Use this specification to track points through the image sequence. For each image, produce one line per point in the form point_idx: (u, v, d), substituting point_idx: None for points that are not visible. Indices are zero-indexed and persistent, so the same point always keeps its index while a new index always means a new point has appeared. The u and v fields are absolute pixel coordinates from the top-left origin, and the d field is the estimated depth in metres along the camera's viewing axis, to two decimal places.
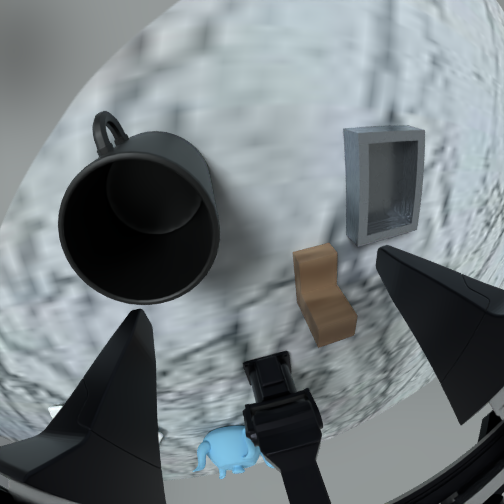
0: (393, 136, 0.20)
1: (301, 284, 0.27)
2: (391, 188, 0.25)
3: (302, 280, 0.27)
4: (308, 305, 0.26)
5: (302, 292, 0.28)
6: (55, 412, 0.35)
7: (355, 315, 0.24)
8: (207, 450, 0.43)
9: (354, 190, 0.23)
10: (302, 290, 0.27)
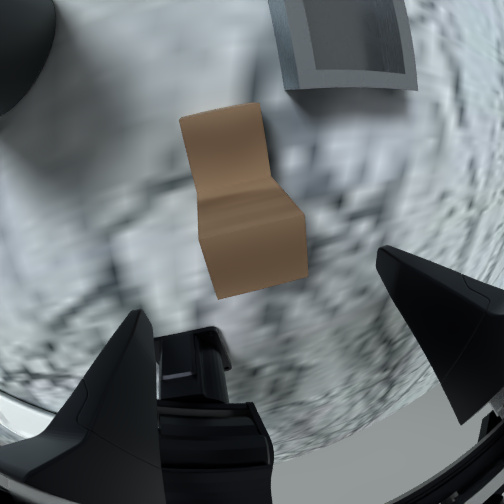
0: None
1: (192, 169, 0.13)
2: (356, 23, 0.11)
3: (192, 160, 0.13)
4: (200, 205, 0.12)
5: (198, 189, 0.14)
6: None
7: (299, 214, 0.10)
8: None
9: None
10: (196, 183, 0.14)
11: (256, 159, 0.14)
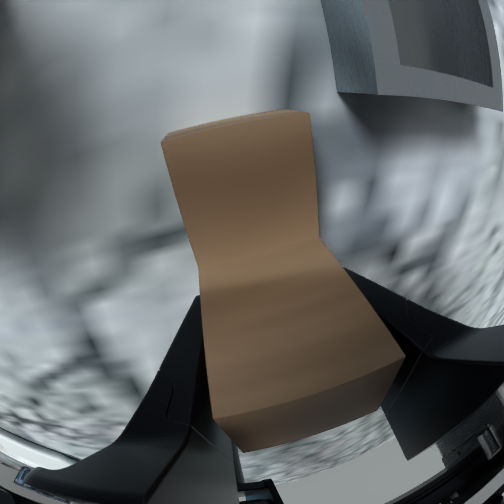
0: None
1: (189, 231, 0.08)
2: (427, 8, 0.06)
3: (188, 214, 0.08)
4: (205, 305, 0.07)
5: (200, 261, 0.08)
6: None
7: (396, 354, 0.05)
8: None
9: None
10: (197, 253, 0.08)
11: (298, 211, 0.08)
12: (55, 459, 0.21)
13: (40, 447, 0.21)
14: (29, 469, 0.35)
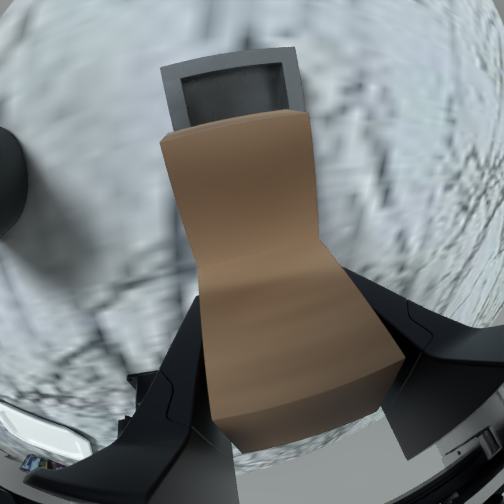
0: (226, 60, 0.13)
1: (188, 231, 0.08)
2: None
3: (188, 215, 0.07)
4: (204, 306, 0.07)
5: (200, 262, 0.08)
6: None
7: (396, 356, 0.05)
8: None
9: None
10: (196, 253, 0.08)
11: (298, 212, 0.08)
12: (63, 431, 0.32)
13: (52, 422, 0.32)
14: (35, 456, 0.45)
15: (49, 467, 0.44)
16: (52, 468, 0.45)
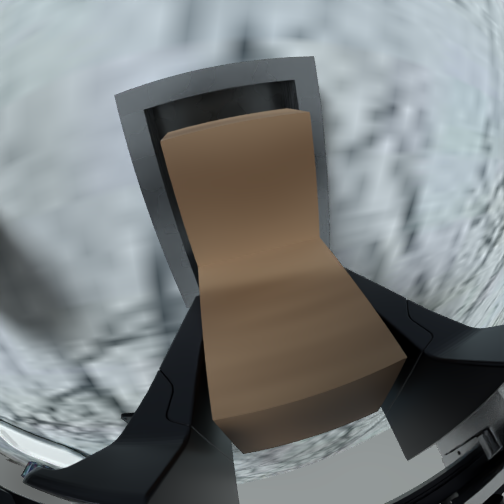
0: (211, 78, 0.09)
1: (189, 230, 0.08)
2: None
3: (188, 214, 0.07)
4: (205, 305, 0.07)
5: (200, 261, 0.08)
6: None
7: (398, 355, 0.05)
8: None
9: None
10: (196, 252, 0.08)
11: (299, 211, 0.08)
12: (62, 451, 0.29)
13: (50, 442, 0.30)
14: (36, 463, 0.44)
15: None
16: None
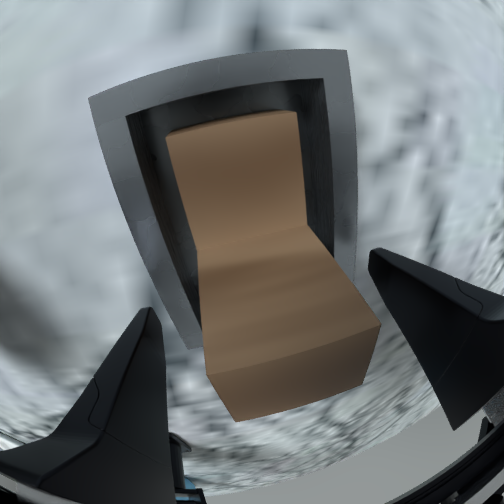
0: (214, 74, 0.06)
1: (189, 216, 0.09)
2: None
3: (189, 202, 0.08)
4: (202, 281, 0.08)
5: (199, 245, 0.09)
6: None
7: (373, 322, 0.06)
8: None
9: None
10: (196, 237, 0.09)
11: (287, 200, 0.09)
12: None
13: None
14: None
15: None
16: None
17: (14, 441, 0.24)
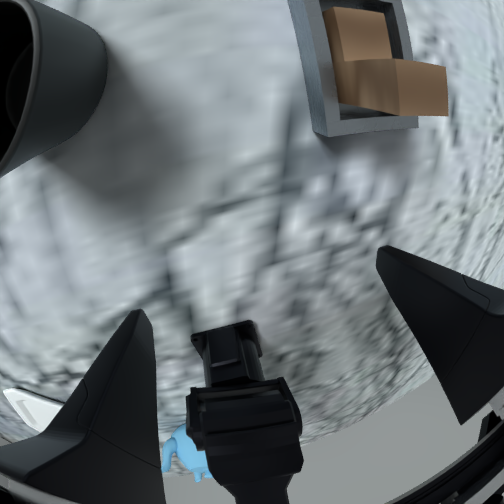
0: None
1: (342, 43, 0.12)
2: None
3: (342, 36, 0.12)
4: (361, 60, 0.11)
5: (345, 58, 0.13)
6: (9, 396, 0.27)
7: (442, 66, 0.09)
8: (173, 449, 0.35)
9: (309, 55, 0.13)
10: (344, 54, 0.13)
11: (384, 48, 0.12)
12: None
13: None
14: None
15: None
16: None
17: (39, 396, 0.29)
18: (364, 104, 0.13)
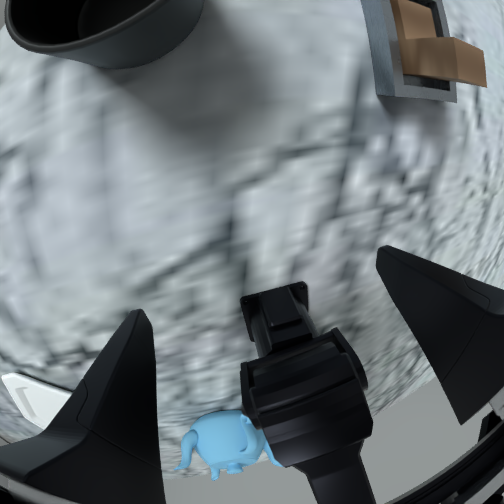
0: None
1: (403, 25, 0.12)
2: None
3: (403, 20, 0.12)
4: (422, 38, 0.11)
5: (406, 37, 0.13)
6: (8, 382, 0.25)
7: (480, 50, 0.09)
8: (194, 442, 0.33)
9: (379, 30, 0.13)
10: (405, 33, 0.12)
11: (431, 35, 0.12)
12: None
13: None
14: None
15: None
16: None
17: (43, 383, 0.27)
18: (424, 72, 0.13)
